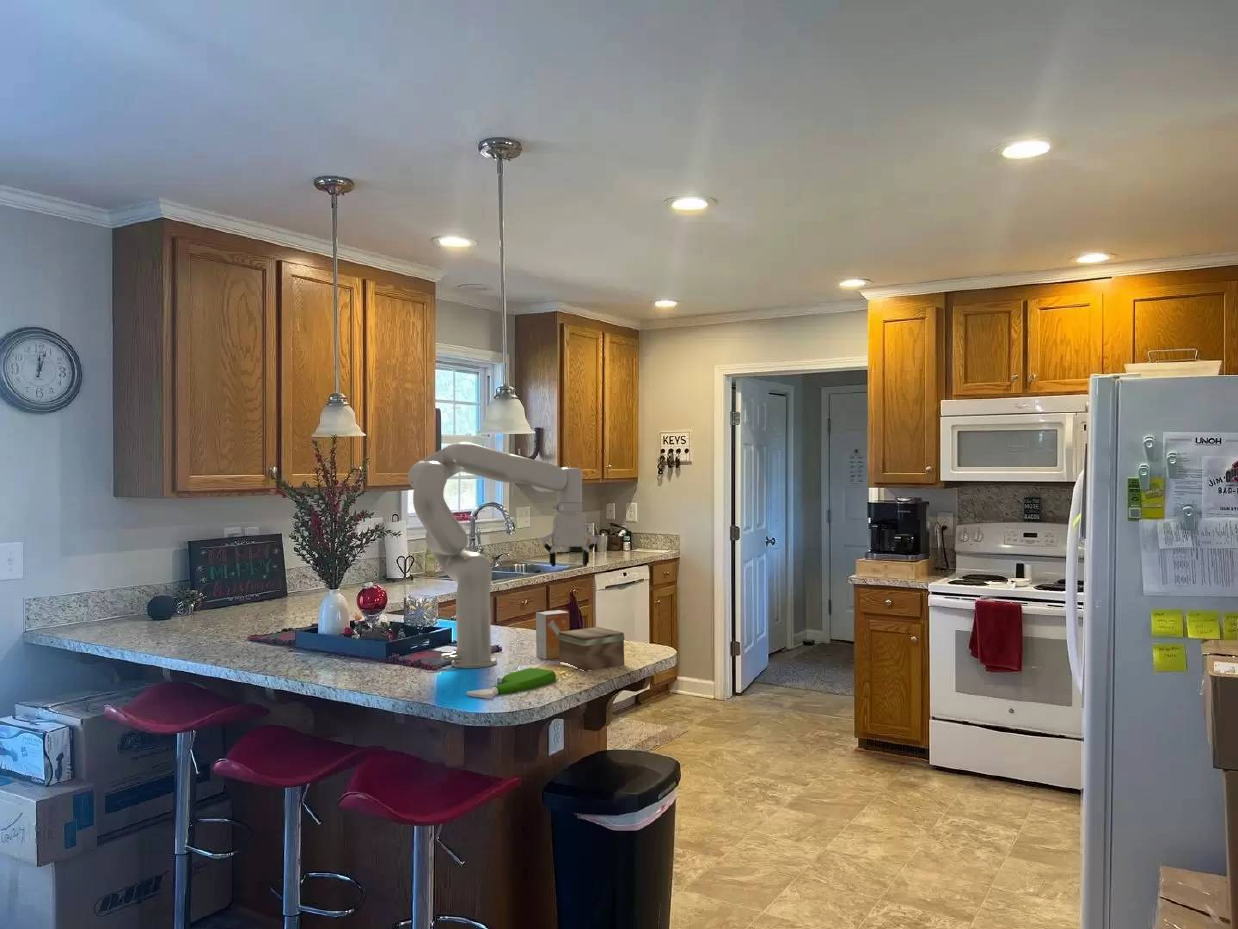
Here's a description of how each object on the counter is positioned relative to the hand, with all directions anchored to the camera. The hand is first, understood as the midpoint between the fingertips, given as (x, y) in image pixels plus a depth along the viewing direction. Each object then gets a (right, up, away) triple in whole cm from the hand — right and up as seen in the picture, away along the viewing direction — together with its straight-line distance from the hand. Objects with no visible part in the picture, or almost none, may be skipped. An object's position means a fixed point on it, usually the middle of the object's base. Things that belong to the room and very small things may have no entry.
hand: (569, 565), depth 271 cm
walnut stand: (+7, -25, -19) cm, 33 cm away
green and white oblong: (-12, -26, -46) cm, 54 cm away
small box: (-4, -26, -6) cm, 27 cm away
